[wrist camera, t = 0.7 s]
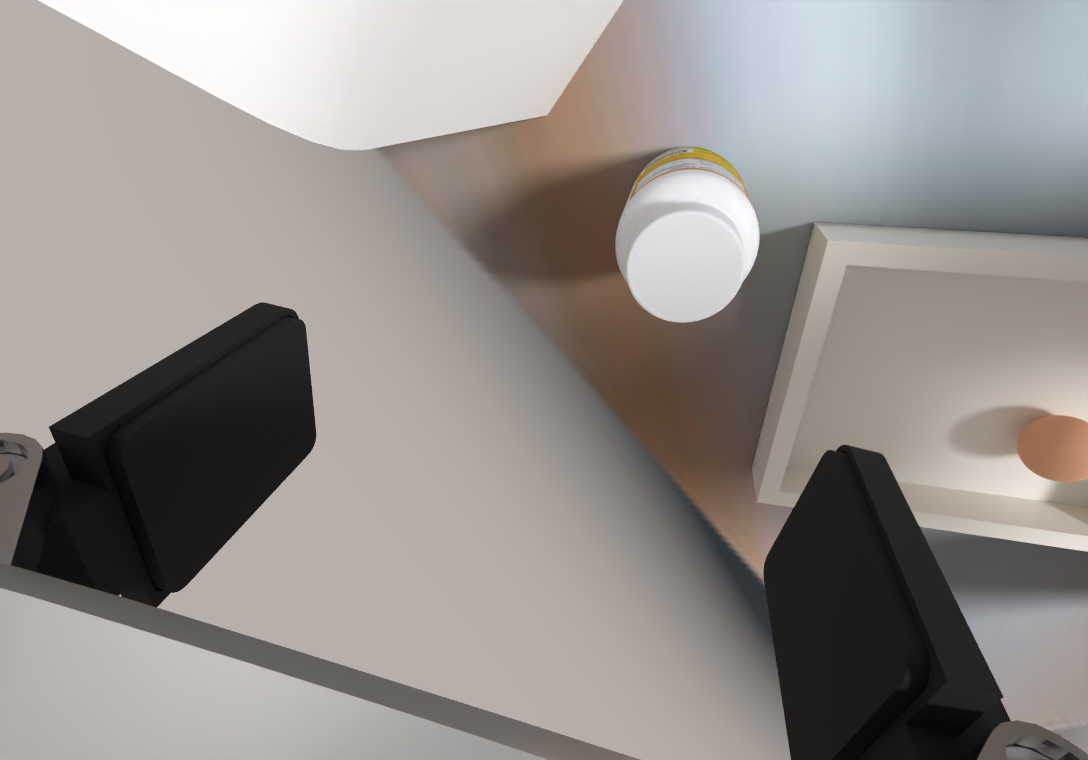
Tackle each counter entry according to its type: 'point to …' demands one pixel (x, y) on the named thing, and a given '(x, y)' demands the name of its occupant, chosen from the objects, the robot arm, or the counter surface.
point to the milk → (362, 59)
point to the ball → (1055, 448)
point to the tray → (935, 373)
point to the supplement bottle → (687, 235)
